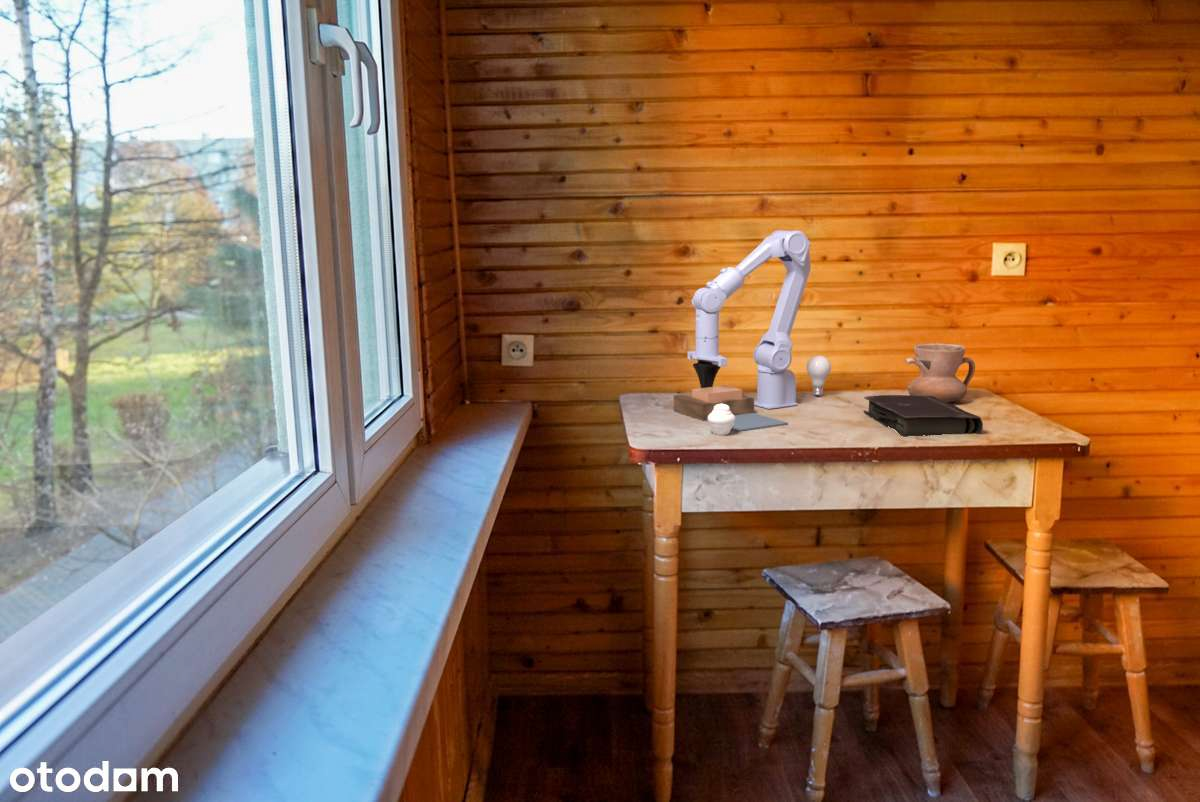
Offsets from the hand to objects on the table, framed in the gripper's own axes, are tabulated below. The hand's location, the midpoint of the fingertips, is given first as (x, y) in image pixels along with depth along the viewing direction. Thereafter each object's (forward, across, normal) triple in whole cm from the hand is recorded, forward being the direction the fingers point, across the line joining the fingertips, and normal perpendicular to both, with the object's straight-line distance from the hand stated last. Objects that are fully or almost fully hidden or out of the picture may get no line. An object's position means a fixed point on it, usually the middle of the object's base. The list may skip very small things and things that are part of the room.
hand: (706, 391), depth 233 cm
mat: (+5, +16, 0) cm, 17 cm away
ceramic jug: (+5, +21, +58) cm, 62 cm away
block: (+1, +4, 0) cm, 5 cm away
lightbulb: (+5, 0, +36) cm, 36 cm away
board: (+5, +3, 0) cm, 6 cm away
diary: (+6, +37, +34) cm, 50 cm away
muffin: (+5, +23, -11) cm, 26 cm away
